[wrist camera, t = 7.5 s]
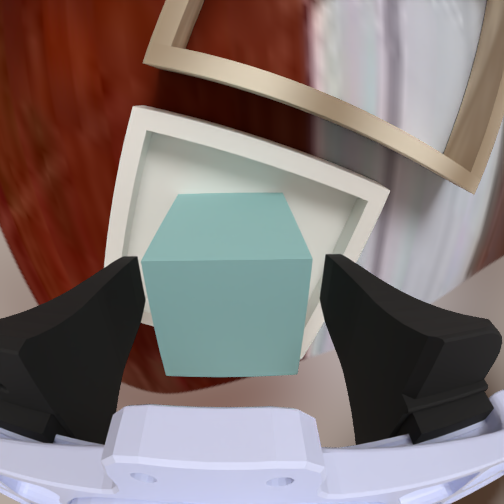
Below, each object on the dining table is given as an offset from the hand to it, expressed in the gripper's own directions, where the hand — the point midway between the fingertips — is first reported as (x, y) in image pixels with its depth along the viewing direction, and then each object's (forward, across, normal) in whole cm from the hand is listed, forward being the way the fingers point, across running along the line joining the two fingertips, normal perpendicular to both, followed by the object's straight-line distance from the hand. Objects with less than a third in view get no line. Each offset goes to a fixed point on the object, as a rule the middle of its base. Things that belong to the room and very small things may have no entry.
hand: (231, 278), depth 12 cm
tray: (+3, 0, 0) cm, 3 cm away
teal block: (+3, 0, 0) cm, 3 cm away
